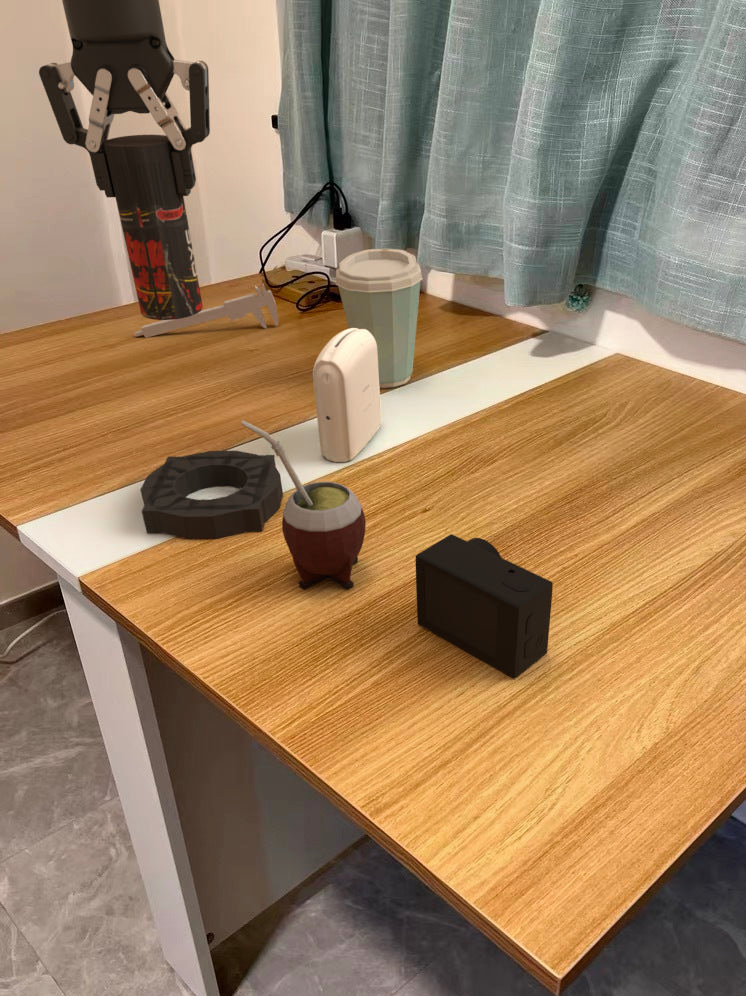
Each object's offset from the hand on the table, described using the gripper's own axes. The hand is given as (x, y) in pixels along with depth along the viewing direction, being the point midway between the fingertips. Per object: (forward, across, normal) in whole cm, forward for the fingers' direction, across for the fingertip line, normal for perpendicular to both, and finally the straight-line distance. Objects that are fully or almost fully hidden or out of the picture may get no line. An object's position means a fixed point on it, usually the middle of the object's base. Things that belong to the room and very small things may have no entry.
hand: (149, 194), depth 81 cm
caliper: (+27, -6, +40) cm, 48 cm away
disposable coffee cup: (+27, +20, +21) cm, 39 cm away
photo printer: (+27, +16, +3) cm, 32 cm away
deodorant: (+11, 0, 0) cm, 11 cm away
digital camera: (+27, +29, -32) cm, 51 cm away
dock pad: (+27, +3, -10) cm, 29 cm away
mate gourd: (+27, +15, -23) cm, 39 cm away
